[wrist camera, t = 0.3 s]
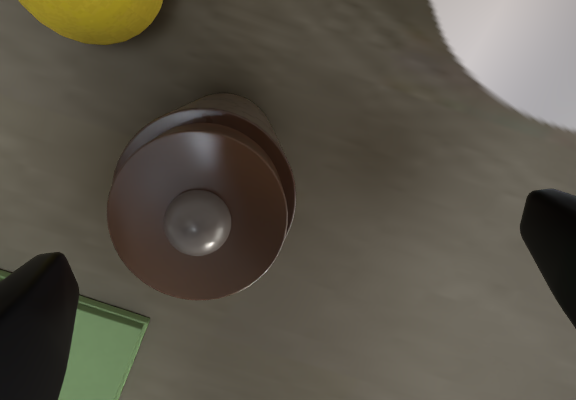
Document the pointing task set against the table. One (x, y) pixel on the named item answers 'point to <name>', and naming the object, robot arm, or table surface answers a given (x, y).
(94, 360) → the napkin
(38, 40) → the table surface
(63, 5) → the lemon
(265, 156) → the pepper mill
